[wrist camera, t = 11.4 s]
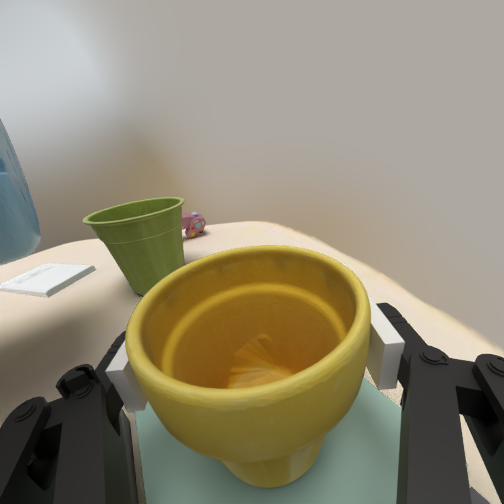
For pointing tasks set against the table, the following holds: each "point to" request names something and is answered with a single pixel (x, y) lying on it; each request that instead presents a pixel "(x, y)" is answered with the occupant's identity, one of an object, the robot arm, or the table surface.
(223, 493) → the pad
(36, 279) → the white flat block
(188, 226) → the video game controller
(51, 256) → the table surface
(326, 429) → the plant pot
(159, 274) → the plant pot
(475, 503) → the tray
